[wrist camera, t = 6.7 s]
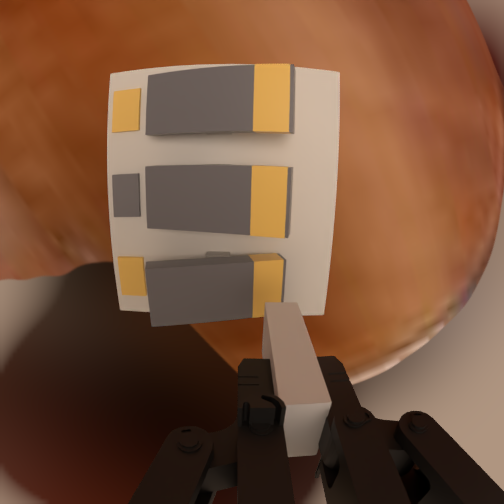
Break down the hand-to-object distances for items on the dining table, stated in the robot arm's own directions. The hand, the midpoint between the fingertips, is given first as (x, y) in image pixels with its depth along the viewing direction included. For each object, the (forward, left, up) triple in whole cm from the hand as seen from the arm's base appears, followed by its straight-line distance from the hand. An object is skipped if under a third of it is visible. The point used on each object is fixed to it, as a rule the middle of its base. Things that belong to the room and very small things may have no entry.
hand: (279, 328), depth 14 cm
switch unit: (-3, +5, -12) cm, 14 cm away
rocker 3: (-3, -1, -6) cm, 7 cm away
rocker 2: (-3, +5, -6) cm, 9 cm away
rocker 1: (-3, +11, -6) cm, 13 cm away
